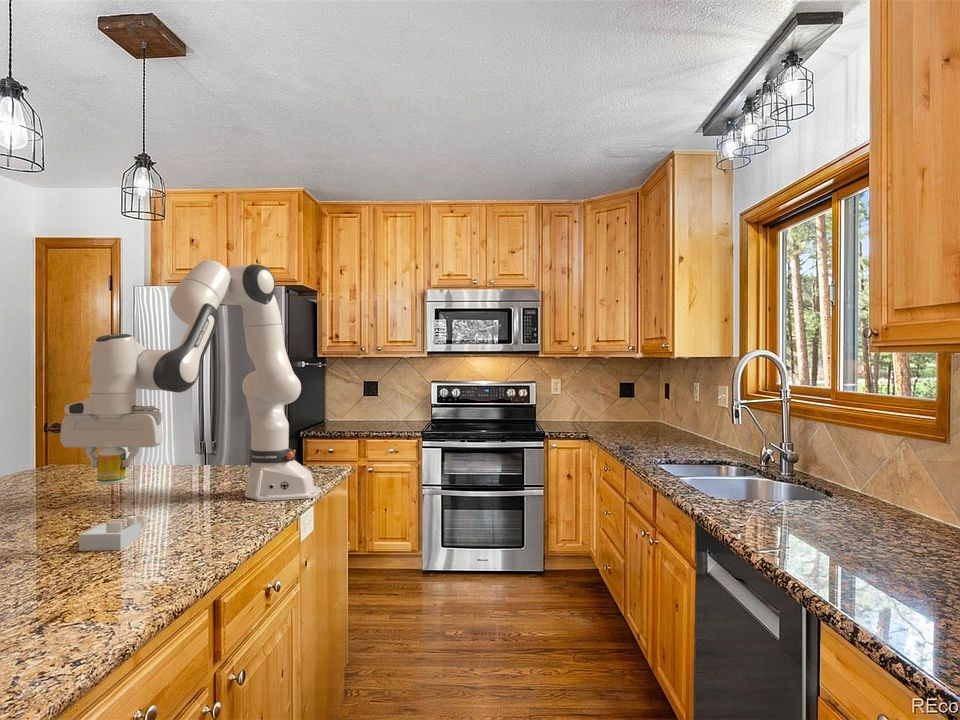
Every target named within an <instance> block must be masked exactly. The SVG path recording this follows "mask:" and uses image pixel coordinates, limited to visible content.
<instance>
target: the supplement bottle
mask: <svg viewBox="0 0 960 720" xmlns="http://www.w3.org/2000/svg"><path fill="white" fill-rule="evenodd" d="M113 446H114V445H113V441H103V447H102V449H100V450H98V452H97V457H98V467H97V475H96V476H97V480H96V481H97V484H98V485H105V486H106V485H107V486H108V485H109V486H110V485H116V484H122V483H124V482H125V481H126V477H127V467H123V466H122V465H123V463H122V462H123V460H124V459H127V450H126V449H125V447H113Z"/></svg>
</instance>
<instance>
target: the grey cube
mask: <svg viewBox="0 0 960 720" xmlns="http://www.w3.org/2000/svg"><path fill="white" fill-rule="evenodd" d="M109 521H110V522H109ZM109 521H108V522H106V533H119V532H120V531H122V530H124V529H126V518H118V519H117V518H116V519H110V520H109Z"/></svg>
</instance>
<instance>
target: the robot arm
mask: <svg viewBox="0 0 960 720" xmlns="http://www.w3.org/2000/svg"><path fill="white" fill-rule="evenodd" d="M275 289H276V281H275V276H274V275H273V273H272V272H271V271H270V268H268V267H267V266H264V265H262V264H261V265H260V264H254V263H253V264H248V265H247V264H246V265H244V264H243V265H233V266H230V267H226V266H225V265H223V264H222V263H220V262H218V261H216V260H213V259H205V260H202V261H201V262H199V263H197V264H196V265H195V266H194V267H193V268H191V269H190V270H189V272H188V273H187V274H185V276H184V277H183V278H182V280H180V282H178V284H177V285H176V287H175V289H174V290H173V291H172V294H171V296H170V299H169V302H170V308H171V310H172V312H173V313H174V315H175V316H176V317H177V318H178V319H179V320H180V321H182V322H183V323H185V324H186V325H188V327H187V328H186V329H187V330H186V332H185V334H184V336H183V338H182V339H181V342H180V344H179V345H177V346H176V347H174V348H170V349H150V348H149V347H146V346H144V345H142V344H141V343H140V342H138V341H137V340H136V339H135V337H134V335H132V334H127V333H118V334H113V333H111V334H105V335H101V336H98V337H97V338H95V339H94V341H93V344H92V347H91V352H90V361H89V364H90V365H89V374H90V377H91V386H90V389H89V398H86V399H82V400H79V401H75V402H72V403H69V404H66V405H65V406H64V408H63V411H64V414H65V416H64V418H62V422H61V425H60V435H59V438H60V440H59V441H60V444H61V445H62V446H63V447H64V448H84V449H85V450H84V453H85V455H86V456H87V458H88V459H89V460H90V468H98V454H96V452H97V451H98V448H103V441H113V445H114V446H113V447H121V448H127V452H128V453H129V454H128V456H127V457H126V459H124V460H123V462H122V463H123V465H122V466H123V467H126V468H133V467H134V459H135V458H136V456H137V454H138V453H139V451H140V448H155V447H159V446H160V445H161V443H162V442H163V430H162V417H163V416H162V415H163V414H162V411H161V410H160V409H159V408H157V407H156V406H154V405H147V406H145V405H137V390H147V391H149V390H150V391H166V392H173V393H177V394H179V393H184V392H186V391H188V390H189V389H191V388H192V387H193V386H194V385H195V383H196V382H197V380H198V378H199V375H200V371H201V366H202V362H203V359H204V357H205V355H206V353H207V351H208V348H209V345H210V344H211V341H212V340H213V336H214V334H215V332H216V329H217V327H218V325H219V324H218V323H219V318H220V317H219V312H218V311H217V310H218V308H219V306H222V307H224V306H228V305H229V306H235V305H236V306H238V305H239V306H240V307H241V308H242V320H243V322H242V323H243V328H244V329H243V331H244V337H245V346H246V352H247V354H248V356H249V357H250V359H251V361H252V363H253V365H254V368H255V370H254V371H251V372H250V373H248V374H247V375H246V376H245V377H244V378H243V380H242V384H241V389H242V392H243V394H244V396H245V398H246V405H247V409H248V413H249V418H250V449H249V453H248V465H249V466H248V467H249V474H248V479H247V485H246V488H245V492H244V497H246V498H248V499H252V500H255V501H258V502H265V501H266V502H267V501H268V502H270V501H285V500H286V501H287V500H304V499H305V500H306V499H311V498H315V497H317V496H318V495H320V494H321V487H320V486H318V485H314V478H313V474H312V472H311V471H310V469H308V468H307V467H305V466H303V465H302V464H301V463H299V462H298V461H297V460H296V449H292V448H290V447H289V443H290V441H289V438H290V430H289V429H290V424H289V421H288V419H287V417H286V415H285V411H284V406H286V405H289V404H291V403H294V402H295V401H296V400H297V399H298V398H299V397H300V394H301V392H302V384H301V381H300V379H299V378H298V376H297V375H296V374H295V372H294V370H293V368H292V367H293V366H292V365H291V362H290V359H289V355H288V353H287V350H286V345H285V339H284V331H283V323H282V317H281V312H280V308H279V304H278V302H277V298H276V296H275V294H274V293H275Z"/></svg>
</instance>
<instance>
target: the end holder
mask: <svg viewBox="0 0 960 720" xmlns="http://www.w3.org/2000/svg"><path fill="white" fill-rule="evenodd" d="M140 538H141V530H140V523H135V524H133V525H131V526H129V527H128V528H127V527H125V529H124V530H122V531H120V532H119V533H107V522H106V523H100V524H98V525H96V526H93V527H91V528H89V529H87V530H85V531H84V532H81V533H79V535H78V551H79V552H85V551H86V552H87V551H88V552H89V551H91V552H92V551H93V552H95V551H122V550H124V549H125V548H127V547H128V546H129V545H131V544H133V543H134V542H136V541H137V540H139V539H140Z"/></svg>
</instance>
